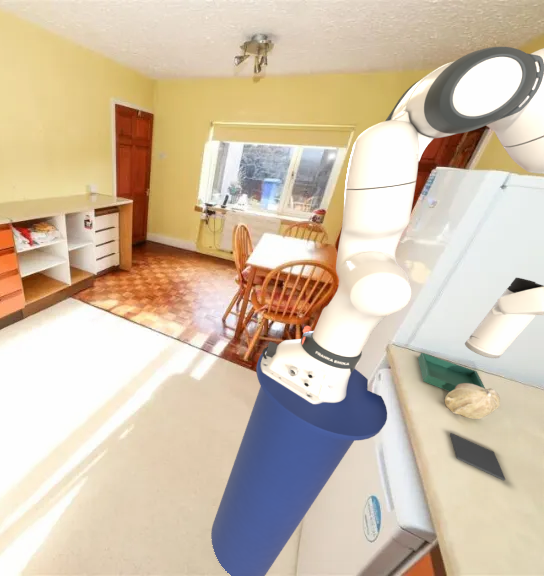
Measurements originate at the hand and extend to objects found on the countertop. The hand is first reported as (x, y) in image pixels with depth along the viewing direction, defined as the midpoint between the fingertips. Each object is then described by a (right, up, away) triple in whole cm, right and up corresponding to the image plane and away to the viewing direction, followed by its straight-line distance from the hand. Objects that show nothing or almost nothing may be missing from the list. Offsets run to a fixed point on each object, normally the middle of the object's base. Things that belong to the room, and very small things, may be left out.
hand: (508, 312), depth 64 cm
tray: (+1, -21, +14) cm, 25 cm away
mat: (-15, -30, -6) cm, 35 cm away
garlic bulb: (-7, -26, +4) cm, 27 cm away
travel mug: (-1, -10, +5) cm, 12 cm away
